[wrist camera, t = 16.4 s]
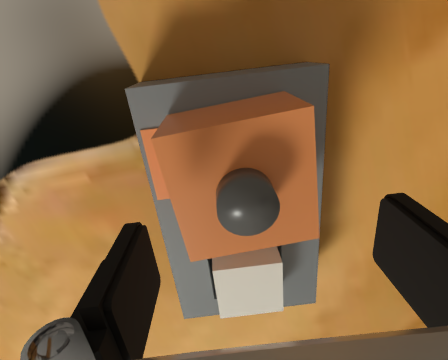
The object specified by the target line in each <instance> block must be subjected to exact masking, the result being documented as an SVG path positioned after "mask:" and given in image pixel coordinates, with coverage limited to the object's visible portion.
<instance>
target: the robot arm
mask: <svg viewBox="0 0 448 360" xmlns="http://www.w3.org/2000/svg"><path fill="white" fill-rule="evenodd" d="M373 258H374V261H375V262H376V264H377V265H378V266H379V267H380V269H381V270H382V271H383V272H384V274H385V275H386V276H387V277H388V279H389V280H390V281H391V282H392V284H393V285H394V286H395V287H396V289H397V290H398V291H399V292H400V294H401V295H402V296H403V297H404V299H405V300H406V301H407V302H408V304H409V305H410V306H411V307H412V309H413V310H414V311H415V312H416V314H417V315H418V316H419V317H420V319H421V320H422V321H423V322H424V324H425V325H426V326H427V327H428V328H420V329H409V330H399V331H389V332H379V333H369V334H359V335H349V336H339V337H330V338H320V339H310V340H301V341H291V342H282V343H272V344H263V345H254V346H244V347H235V348H226V349H217V350H208V351H199V352H190V353H182V354H174V355H166V356H158V357H151V358H143V354H144V350H145V346H146V342H147V337H148V333H149V329H150V325H151V321H152V317H153V313H154V309H155V305H156V300H157V296H158V292H159V288H160V274H159V271H158V267H157V263H156V260H155V256H154V252H153V249H152V245H151V241H150V238H149V234H148V230H147V227H146V226H145V225H142V224H141V223H140V222H136V223H127V224H125V225H124V226H123V228H122V230H121V231H120V233H119V235H118V237H117V239H116V240H115V242H114V244H113V246H112V248H111V249H110V251H109V253H108V255H107V257H106V258H105V260H103V261H102V263H101V264H100V266H99V268H98V269H97V271H96V273H95V275H94V276H93V278H92V280H91V282H90V283H89V285H88V287H87V289H86V291H85V292H84V294H83V296H82V298H81V299H80V301H79V303H78V305H77V307H76V308H75V310H74V312H73V314H72V315H71V317H70V318H61V319H57V320H54V321H52V322H50V323H48V324H46V325H45V326H43V327H42V328H40V329H39V330H38V331H37V332H36V333H34V334H33V335H32V336H31V337H30V339H29V340H28V341H27V343H26V344H25V345H24V347H23V350H22V352H21V358H20V360H448V223H447V222H445V221H444V220H442V219H441V218H439V217H438V216H436V215H435V214H434V213H432V212H431V211H429V210H428V209H426V208H425V207H424V206H422V205H421V204H419V203H418V202H416V201H415V200H413V199H412V198H411V197H409V196H408V195H406V194H404V193H396V194H387V195H386V196H385V197H384V199H382V200H381V202H380V207H379V214H378V221H377V227H376V234H375V241H374V248H373ZM142 358H143V359H142Z"/></svg>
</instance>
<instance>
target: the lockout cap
mask: <svg viewBox="0 0 448 360" xmlns="http://www.w3.org/2000/svg"><path fill="white" fill-rule="evenodd" d="M151 141H152V144H153V147H154V150H155V154H156V157H157V160H158V163H159V166H160V169H161V172H162V175H163V178H164V181H165V184H166V188H167V191H168V194H169V197H170V200H171V203H172V206H173V209H174V212H175V215H176V219H177V222H178V225H179V228H180V231H181V234H182V237H183V240H184V243H185V246H186V250H187V253H188V256H189V259H190V262H194V261H200V260H205V259H210V258H216V257H221V256H226V255H232V254H237V253H243V252H248V251H253V250H259V249H264V248H270V247H275V246H280V245H286V244H291V243H297V242H302V241H307V240H313V239H318V238H320V237H319V213H318V189H317V165H316V141H315V117H314V105H312V104H310V103H307V102H305V101H303V100H301V99H299V98H297V97H295V96H293V95H291V94H289V93H287V92H285V91H281V92H276V93H271V94H267V95H262V96H257V97H252V98H247V99H242V100H237V101H233V102H228V103H223V104H218V105H213V106H208V107H203V108H199V109H194V110H189V111H184V112H179V113H174V114H169V115H167V116H166V117H165V119H164V120H163V122H162V123H161V124H160V126H159V127H158V129H157V130H156V132H155V133H154V135H153V136H152V138H151Z"/></svg>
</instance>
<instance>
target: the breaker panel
mask: <svg viewBox="0 0 448 360" xmlns="http://www.w3.org/2000/svg"><path fill="white" fill-rule="evenodd" d="M328 80H329V64H324V63H312V62H302V63H294V64H286V65H278V66H269V67H261V68H253V69H245V70H236V71H228V72H220V73H212V74H203V75H195V76H187V77H179V78H170V79H162V80H154V81H146V82H140V83H137V84H135V85H133V86H130V87H128V88H126V89H125V91H126V95H127V99H128V103H129V107H130V111H131V115H132V119H133V122H134V126H135V130H136V134H137V138H138V142H139V146H140V150H141V153H142V157H143V161H144V165H145V169H146V173H147V177H148V180H149V184H150V188H151V192H152V196H153V200H154V204H155V208H156V211H157V215H158V219H159V223H160V227H161V231H162V235H163V238H164V242H165V246H166V250H167V254H168V258H169V262H170V266H171V269H172V273H173V277H174V281H175V285H176V289H177V293H178V297H179V300H180V304H181V308H182V312H183V316H184V319H187V318H195V317H204V316H212V315H220V313H219V307H218V301H217V295H216V290H215V284H214V278H213V272H212V258H210V259H205V260H200V261H194V262H190V259H189V256H188V253H187V250H186V246H185V243H184V240H183V237H182V234H181V231H180V228H179V225H178V222H177V219H176V215H175V212H174V209H173V206H172V203H171V200H170V197H169V194H168V191H167V188H166V184H165V181H164V178H163V175H162V172H161V169H160V166H159V163H158V160H157V157H156V154H155V150H154V147H153V144H152V141H151V138H152V136H153V135H154V133H155V132H156V130H157V129H158V127H159V126H160V124H161V123H162V122H163V120H164V119H165V117H166V116H167V115H169V114H174V113H179V112H184V111H189V110H194V109H199V108H203V107H208V106H213V105H218V104H223V103H228V102H233V101H237V100H242V99H247V98H252V97H257V96H262V95H267V94H271V93H276V92H281V91H285V92H287V93H289V94H291V95H293V96H295V97H297V98H299V99H301V100H303V101H305V102H307V103H310V104H312V105H314V117H315V141H316V165H317V189H318V213H319V235H320V218H321V201H322V184H323V166H324V149H325V132H326V114H327V97H328ZM277 248H278V251H279V254H280V257H281V260H282V263H283V307H286V306H294V305H302V304H311V303H316V287H317V270H318V253H319V238H318V239H313V240H307V241H302V242H297V243H291V244H286V245H280V246H277Z"/></svg>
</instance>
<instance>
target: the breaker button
mask: <svg viewBox="0 0 448 360" xmlns="http://www.w3.org/2000/svg"><path fill="white" fill-rule="evenodd" d="M212 272H213V278H214V284H215V290H216V295H217V301H218V307H219V313H220V318H229V317H237V316H245V315H253V314H262V313H270V312H278V311H283V263H282V260H281V257H280V254H279V251H278V248H277V246H275V247H270V248H264V249H259V250H253V251H248V252H243V253H237V254H232V255H226V256H221V257H216V258H212Z"/></svg>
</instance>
